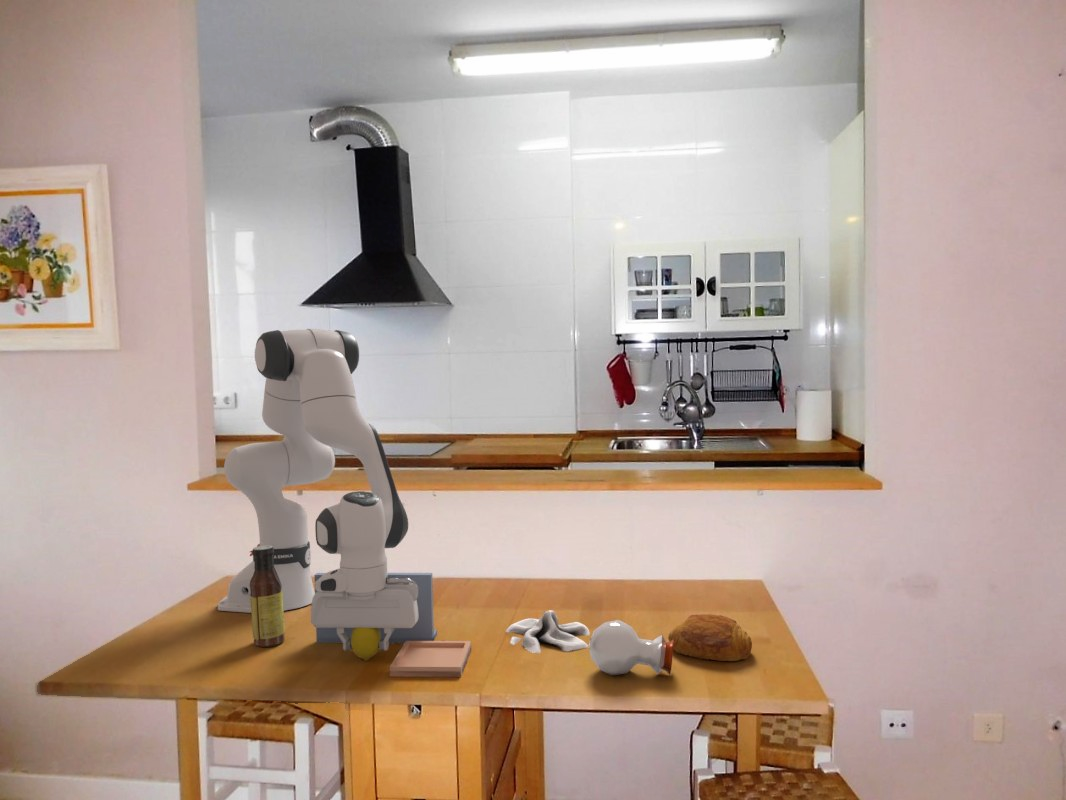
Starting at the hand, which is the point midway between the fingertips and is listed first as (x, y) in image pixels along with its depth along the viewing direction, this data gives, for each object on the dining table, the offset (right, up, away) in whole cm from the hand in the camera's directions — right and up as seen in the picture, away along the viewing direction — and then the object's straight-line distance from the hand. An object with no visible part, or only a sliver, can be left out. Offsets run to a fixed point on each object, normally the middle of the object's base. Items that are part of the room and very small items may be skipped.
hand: (366, 649), depth 146 cm
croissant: (+67, -1, +2) cm, 67 cm away
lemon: (0, -2, 0) cm, 2 cm away
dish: (+13, -2, -2) cm, 13 cm away
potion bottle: (+50, -2, -8) cm, 51 cm away
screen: (0, -2, +12) cm, 12 cm away
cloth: (+35, -2, +10) cm, 36 cm away
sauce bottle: (-22, -2, +11) cm, 25 cm away
